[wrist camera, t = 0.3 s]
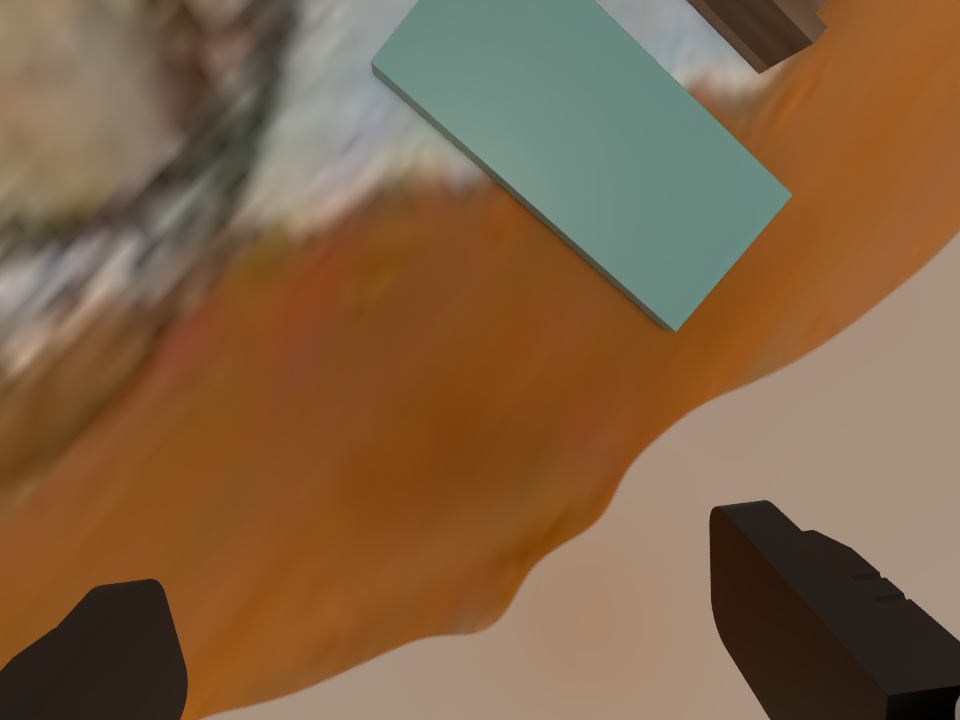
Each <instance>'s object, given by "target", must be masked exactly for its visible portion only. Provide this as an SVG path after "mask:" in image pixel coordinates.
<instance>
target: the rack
mask: <svg viewBox="0 0 960 720" xmlns="http://www.w3.org/2000/svg"><path fill="white" fill-rule="evenodd" d="M687 1H688V2H689V3H690V4H691V5H692V6H693V7H694V8H695V9H696V10H697V11H698V12H699V13H700V14H701V15H702V16H703V17H704V18H705V19H706V20H707V21H708V22H709V23H710V24H711V25H712V26H713V27H714V28H715V29H716V30H717V31H718V32H719V33H720V34H721V35H722V36H723V37H724V38H725V39H726V40H727V41H728V42H729V43H730V44H731V45H732V46H733V47H734V48H735V49H736V51H737V52H738V53H739V54H740V55H741V56H742V57H743V58H744V59H745V60H746V61H747V62H748V63H749V64H750V65H751V66H752V67H753V68H754V69H755V70H756V71H757V72H758V73H759V74H760V73H761V72H763V71H765V70H767V69H769V68H770V67H772V66H774V65H776V64H778V63H779V62H781V61H783V60H785V59H786V58H788V57H790V56H792V55H794V54H795V53H797V52H799V51H801V50H802V49H804V48H806V47H808V46H810V45H811V44H813V43H814V42H815V41H816V40H817V39H818V37H819V36H820V35H821V34H822V33H823V31H824V30H825V29H826V28H827V27H826V26H825V25H824V23H823V22H822V21H821V20H820V19H819V18H818V17H817V16H816V15H815V13H816V11H817V10H818V9H819V8H820V7H821V5H822V4H823V3H824V2H825V1H826V0H687Z"/></svg>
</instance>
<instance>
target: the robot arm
mask: <svg viewBox="0 0 960 720" xmlns="http://www.w3.org/2000/svg"><path fill="white" fill-rule="evenodd" d="M709 527H710V573H711V603H712V610H713V615H714V620H715V623H716V627H717V630H718V633H719V635H720V638H721V640H722V642H723V644H724V646H725V647H726V649H727V651H728V652H729V654H730V656H731V657H732V659H733V660H734V662H735V664H736V665H737V667H738V669H739V670H740V672H741V673H742V675H743V677H744V678H745V680H746V681H747V683H748V684H749V686H750V688H751V689H752V691H753V692H754V694H755V696H756V698H757V699H758V701H759V702H760V704H761V705H762V707H763V709H764V710H765V712H766V714H767V715H768V717H769V718H770V720H960V641H958V640H957V639H956V638H955V637H954V636H953V635H952V634H950V633H949V632H948V631H947V630H946V629H945V628H943V627H942V626H941V625H940V624H939V623H938V622H936V621H935V620H934V619H933V618H932V617H931V616H929V615H928V614H927V613H926V612H925V611H924V610H923V609H921V608H920V607H919V606H918V605H917V604H915V603H914V602H913V601H912V600H911V599H908V600H906V598H905V596H904V593H903V592H902V591H900V590H899V589H898V588H897V587H896V586H895V585H894V584H892V583H891V582H890V581H889V580H888V579H887V578H881V576H880V572H878V571H877V570H876V569H875V568H874V567H873V566H871V565H870V564H869V563H868V562H867V561H866V560H865V559H863V558H862V557H861V556H860V555H859V554H858V553H856V552H855V551H854V550H853V549H852V548H850V547H848V546H845V545H844V544H841V543H840V542H838V541H836V540H833V539H831V538H829V537H827V536H825V535H823V534H821V533H819V532H817V531H815V530H809V531H801V530H800V529H799V528H798V527H797V526H796V525H795V524H794V523H793V522H792V521H791V520H790V519H789V518H787V517H786V516H785V515H784V514H783V513H782V512H781V511H780V510H779V509H778V508H777V507H776V506H775V505H774V504H772V503H771V502H769V501H767V500H763V501H755V502H748V503H739V504H732V505H724V506H716V507H714V508H713V509H712V511H711V515H710V523H709ZM187 688H188V678H187V670H186V665H185V662H184V658H183V655H182V651H181V648H180V644H179V640H178V637H177V633H176V630H175V626H174V623H173V619H172V616H171V612H170V609H169V605H168V601H167V598H166V595H165V592H164V589H163V587H162V586H161V584H160V583H159V582H158V581H157V580H154V579H146V580H138V581H131V582H123V583H115V584H107V585H100V586H97V587H95V588H93V589H92V590H90V591H89V592H88V593H87V594H86V596H85V597H84V598H83V599H82V600H81V601H80V602H79V603H78V604H77V605H76V607H75V608H74V609H73V610H72V611H71V612H70V613H69V614H68V615H67V616H66V617H65V619H64V620H63V621H62V622H61V623H60V624H59V625H58V626H57V627H56V628H54V629H53V630H51V631H50V632H48V633H47V634H46V635H44V636H43V637H41V638H40V639H39V640H37V641H36V642H34V643H33V644H32V645H30V646H29V647H27V648H26V649H25V650H23V651H22V652H20V653H19V654H17V655H16V656H15V657H13V658H12V659H11V660H10V662H9V663H8V664H7V665H6V666H5V667H4V668H3V669H2V670H1V671H0V720H180V718H181V716H182V713H183V710H184V707H185V703H186V697H187Z"/></svg>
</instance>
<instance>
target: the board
mask: <svg viewBox="0 0 960 720" xmlns="http://www.w3.org/2000/svg"><path fill="white" fill-rule="evenodd" d="M371 65H372V69H373V73H374V74H375V75H376V76H377V77H378V78H379V79H380V80H382V81H383V82H384V83H385V84H386V85H387V86H388V87H390V88H391V89H392V90H393V91H394V92H395V93H396V94H397V95H399V96H400V97H401V98H402V99H403V100H404V101H405V102H407V103H408V104H409V105H410V106H411V107H412V108H413V109H414V110H416V111H417V112H418V113H419V114H420V115H421V116H422V117H424V118H425V119H426V120H427V121H428V122H429V123H430V124H431V125H433V126H434V127H435V128H436V129H437V130H438V131H439V132H441V133H442V134H443V135H444V136H445V137H446V138H447V139H448V140H450V141H451V142H452V143H453V144H454V145H455V146H456V147H458V148H459V149H460V150H461V151H462V152H463V153H464V154H466V155H467V156H468V157H469V158H470V159H471V160H472V161H473V162H475V163H476V164H477V165H478V166H479V167H480V168H481V169H483V170H484V171H485V172H486V173H487V174H488V175H489V176H490V177H492V178H493V179H494V180H495V181H496V182H497V183H498V184H500V185H501V186H502V187H503V188H504V189H505V190H506V191H507V192H509V193H510V194H511V195H512V196H513V197H514V198H515V199H517V200H518V201H519V202H520V203H521V204H522V205H523V206H524V207H526V208H527V209H528V210H529V211H530V212H531V213H532V214H534V215H535V216H536V217H537V218H538V219H539V220H540V221H542V222H543V223H544V224H545V225H546V226H547V227H548V228H549V229H551V230H552V231H553V232H554V233H555V234H556V235H557V236H559V237H560V238H561V239H562V240H563V241H564V242H565V243H566V244H568V245H569V246H570V247H571V248H572V249H573V250H574V251H576V252H577V253H578V254H579V255H580V256H581V257H582V258H583V259H585V260H586V261H587V262H588V263H589V264H590V265H591V266H593V267H594V268H595V269H596V270H597V271H598V272H599V273H600V274H602V275H603V276H604V277H605V278H606V279H607V280H608V281H610V282H611V283H612V284H613V285H614V286H615V287H616V288H618V289H619V290H620V291H621V292H622V293H623V294H624V295H625V296H627V297H628V298H629V299H630V300H631V301H632V302H633V303H635V304H636V305H637V306H638V307H639V308H640V309H641V310H642V311H644V312H645V313H646V314H647V315H648V316H649V317H650V318H652V319H653V320H654V321H655V322H656V323H657V324H658V325H659V326H661V327H662V328H663V329H667V330H671V331H675V332H676V331H677V330H678V329H679V328H680V327H681V325H682V324H683V323H684V322H685V321H686V320H687V318H688V317H689V316H690V315H691V314H692V312H693V311H694V310H695V309H696V308H697V307H698V305H699V304H700V303H701V302H702V301H703V300H704V298H705V297H706V296H707V295H708V294H709V293H710V291H711V290H712V289H713V288H714V287H715V285H716V284H717V283H718V282H719V281H720V280H721V278H722V277H723V276H724V275H725V274H726V273H727V271H728V270H729V269H730V268H731V267H732V266H733V264H734V263H735V262H736V261H737V260H738V258H739V257H740V256H741V255H742V254H743V253H744V251H745V250H746V249H747V248H748V247H749V246H750V244H751V243H752V242H753V241H754V240H755V239H756V237H757V236H758V235H759V234H760V233H761V231H762V230H763V229H764V228H765V227H766V226H767V224H768V223H769V222H770V221H771V220H772V219H773V217H774V216H775V215H776V214H777V213H778V211H779V210H780V209H781V208H782V207H783V206H784V204H785V203H786V202H787V201H788V200H789V199H790V197H791V196H792V194H791V193H790V192H789V191H788V190H787V189H786V188H785V187H784V186H783V185H782V184H781V183H780V182H779V181H778V180H777V179H776V178H775V177H774V176H773V175H772V174H771V173H770V172H769V171H768V170H767V169H766V168H765V167H764V166H763V165H762V164H761V163H760V162H759V161H758V160H756V159H755V158H754V157H753V156H752V155H751V154H750V153H749V152H748V151H747V150H746V149H745V148H744V147H743V146H742V145H741V144H740V143H739V142H738V141H737V140H736V139H735V138H734V137H733V136H732V135H731V134H730V133H729V132H728V131H727V130H726V129H725V128H724V127H723V126H722V125H721V124H720V123H719V122H718V121H717V120H716V119H715V118H714V117H713V116H712V115H711V114H710V113H709V112H708V111H707V110H706V109H705V108H704V107H702V106H701V105H700V104H699V103H698V102H697V101H696V100H695V99H694V98H693V97H692V96H691V95H690V94H689V93H688V92H687V91H686V90H685V89H684V88H683V87H682V86H681V85H680V84H679V83H678V82H677V81H676V80H675V79H674V78H673V77H672V76H671V75H670V74H669V73H668V72H667V71H666V70H665V69H664V68H663V67H662V66H661V65H660V64H659V63H658V62H657V61H656V60H655V59H654V58H653V57H652V56H651V55H650V54H649V53H647V52H646V51H645V50H644V49H643V48H642V47H641V46H640V45H639V44H638V43H637V42H636V41H635V40H634V39H633V38H632V37H631V36H630V35H629V34H628V33H627V32H626V31H625V30H624V29H623V28H622V27H621V26H620V25H619V24H618V23H617V22H616V21H615V20H614V19H613V18H612V17H611V16H610V15H609V14H608V13H607V12H606V11H605V10H604V9H603V8H602V7H601V6H600V5H599V4H598V3H597V2H596V1H595V0H419V1H418V2H417V3H416V5H415V6H414V7H413V8H412V10H411V11H410V12H409V14H408V15H407V16H406V17H405V19H404V20H403V21H402V22H401V24H400V25H399V26H398V28H397V29H396V30H395V31H394V33H393V34H392V35H391V36H390V38H389V39H388V40H387V42H386V43H385V44H384V45H383V47H382V48H381V49H380V50H379V52H378V53H377V54H376V56H375V57H374V58H373V59H372V61H371Z"/></svg>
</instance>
